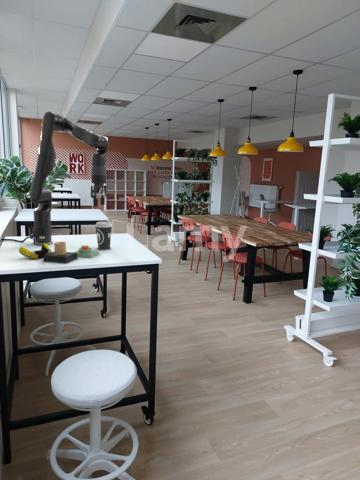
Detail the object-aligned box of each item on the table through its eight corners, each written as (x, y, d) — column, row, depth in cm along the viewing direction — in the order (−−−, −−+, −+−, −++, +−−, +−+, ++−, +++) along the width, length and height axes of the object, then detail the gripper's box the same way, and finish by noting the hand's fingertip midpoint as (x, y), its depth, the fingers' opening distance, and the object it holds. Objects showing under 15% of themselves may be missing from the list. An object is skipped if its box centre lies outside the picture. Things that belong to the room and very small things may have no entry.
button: (80, 249, 174) (80, 246, 174) (83, 248, 178) (83, 245, 177) (86, 250, 174) (86, 246, 173) (89, 248, 177) (89, 245, 177)
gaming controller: (17, 257, 167) (27, 261, 161) (17, 246, 166) (27, 249, 160) (46, 252, 179) (56, 256, 173) (45, 242, 178) (56, 245, 172)
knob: (52, 254, 163) (52, 242, 162) (58, 252, 168) (58, 240, 167) (62, 255, 161) (61, 243, 160) (68, 253, 166) (67, 241, 165)
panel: (43, 261, 162) (43, 254, 161) (55, 256, 171) (55, 250, 171) (66, 263, 159) (65, 256, 158) (77, 258, 169) (77, 252, 168)
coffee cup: (108, 250, 188) (108, 224, 185) (92, 249, 189) (92, 223, 187) (115, 247, 197) (115, 221, 194) (99, 246, 199) (99, 221, 196)
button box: (71, 256, 173) (70, 249, 172) (80, 252, 182) (79, 246, 181) (90, 258, 171) (90, 251, 170) (98, 254, 179) (98, 247, 179)
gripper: (98, 174, 184) (98, 204, 187) (85, 173, 170) (86, 206, 173) (111, 174, 183) (111, 204, 186) (99, 174, 169) (99, 206, 172)
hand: (99, 205), depth 180 cm, fingers open, 8 cm apart
